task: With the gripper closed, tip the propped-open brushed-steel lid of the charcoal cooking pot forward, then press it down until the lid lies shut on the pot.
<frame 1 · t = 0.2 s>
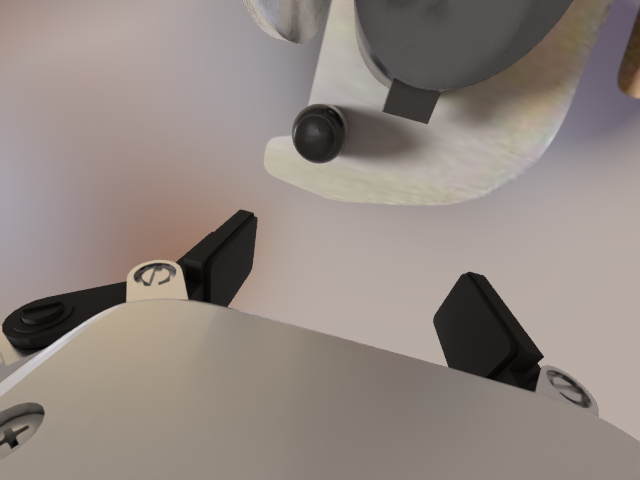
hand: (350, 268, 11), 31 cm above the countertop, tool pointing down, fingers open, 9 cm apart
cooker pot: (430, 8, 29), on the countertop
supplement bottle: (326, 129, 37), on the countertop
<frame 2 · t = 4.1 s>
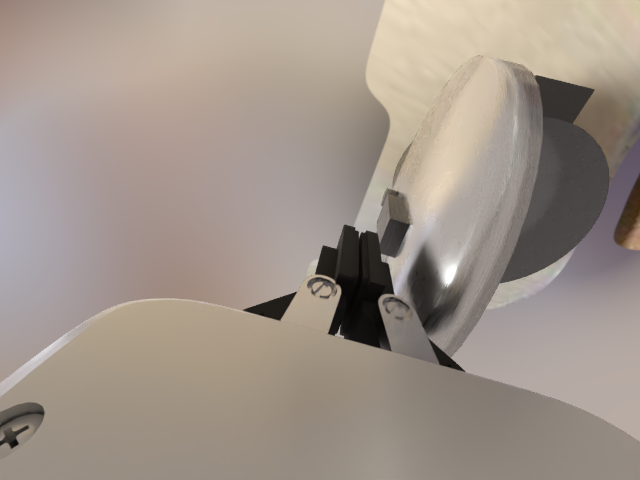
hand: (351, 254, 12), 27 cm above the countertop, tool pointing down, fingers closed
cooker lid: (401, 225, 17), point 22 cm above the countertop, hinge at 94.5°, touching gripper
cooker pot: (456, 183, 35), on the countertop
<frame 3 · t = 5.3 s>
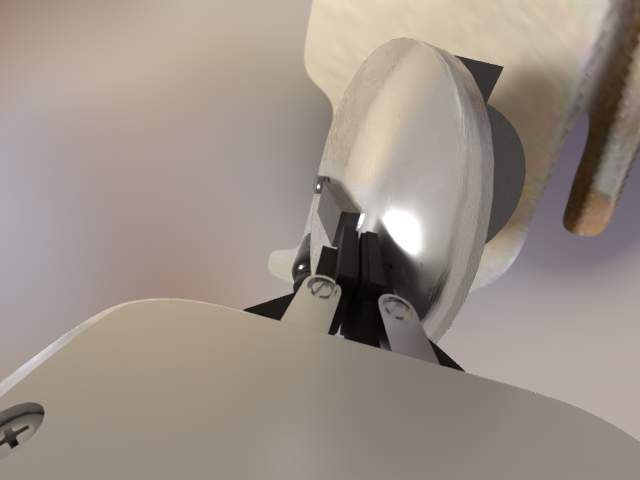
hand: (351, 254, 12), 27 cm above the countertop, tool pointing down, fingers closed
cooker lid: (346, 213, 17), point 22 cm above the countertop, hinge at 70.8°, touching gripper
cooker pot: (403, 170, 35), on the countertop
supplement bottle: (321, 246, 44), on the countertop
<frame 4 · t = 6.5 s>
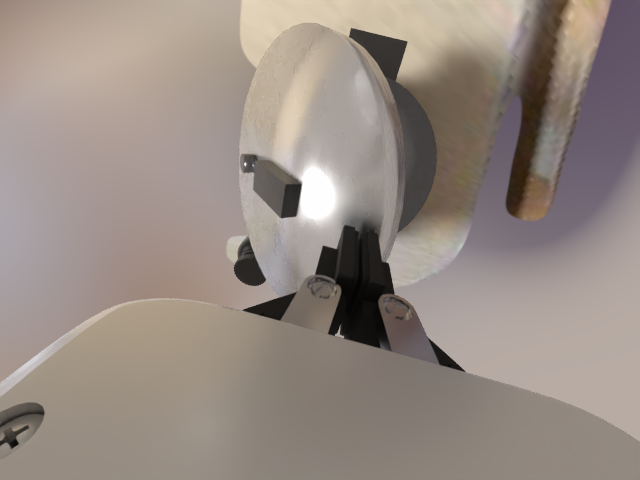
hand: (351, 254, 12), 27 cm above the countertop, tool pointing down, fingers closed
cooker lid: (283, 187, 18), point 20 cm above the countertop, hinge at 47.3°
cooker pot: (347, 154, 36), on the countertop
supplement bottle: (275, 232, 44), on the countertop
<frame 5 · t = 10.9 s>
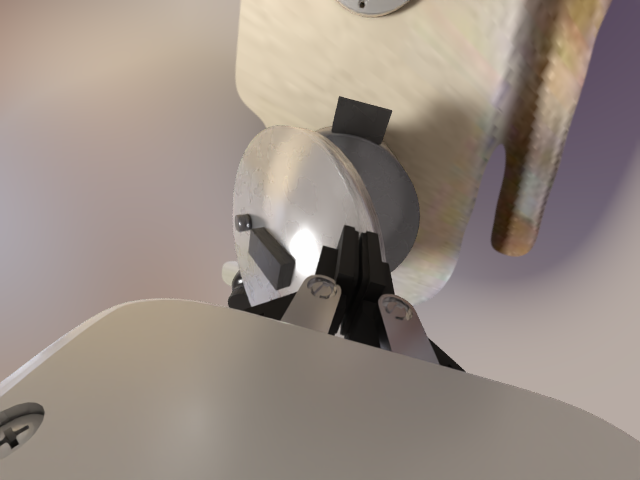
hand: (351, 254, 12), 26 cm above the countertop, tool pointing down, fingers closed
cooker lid: (278, 254, 20), point 20 cm above the countertop, hinge at 44.6°
cooker pot: (339, 190, 37), on the countertop
supplement bottle: (270, 258, 45), on the countertop
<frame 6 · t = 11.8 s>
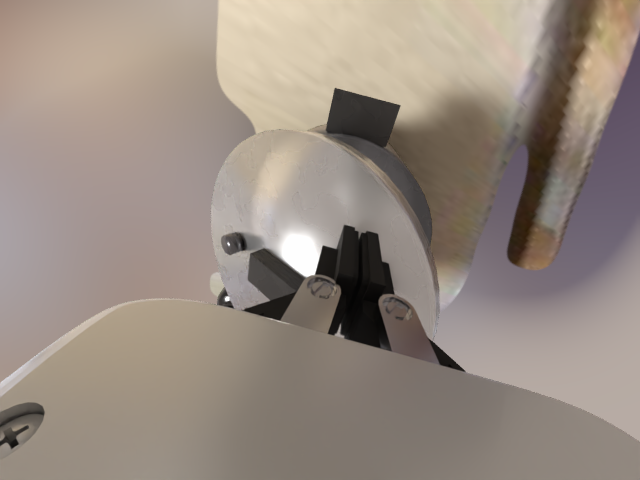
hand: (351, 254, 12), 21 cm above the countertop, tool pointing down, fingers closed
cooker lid: (287, 279, 17), point 18 cm above the countertop, hinge at 31.6°, touching gripper
cooker pot: (337, 197, 33), on the countertop
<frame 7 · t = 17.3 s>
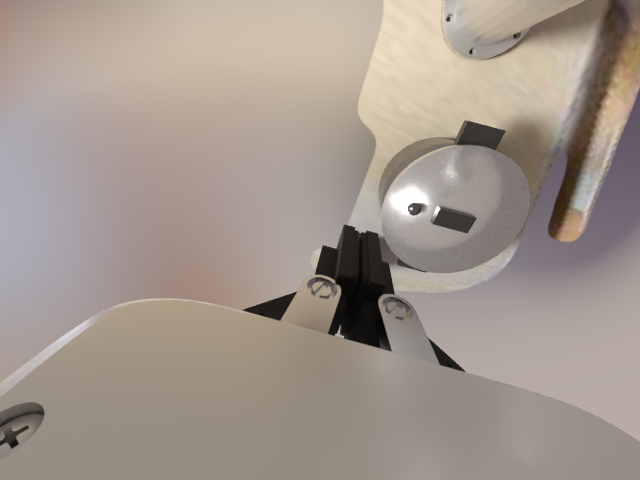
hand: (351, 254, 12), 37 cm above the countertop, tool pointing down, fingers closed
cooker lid: (450, 217, 34), point 14 cm above the countertop, hinge at -0.1°
cooker pot: (427, 189, 46), on the countertop
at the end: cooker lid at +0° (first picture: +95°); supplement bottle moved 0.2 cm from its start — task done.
